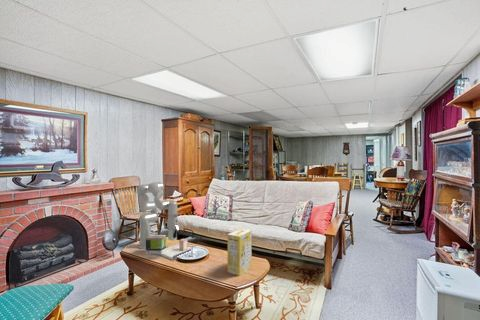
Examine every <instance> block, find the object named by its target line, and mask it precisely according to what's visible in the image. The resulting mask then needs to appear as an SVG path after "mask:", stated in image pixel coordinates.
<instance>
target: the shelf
mask: <svg viewBox="0 0 480 320" xmlns="http://www.w3.org/2000/svg"><path fill="white" fill-rule="evenodd" d="M189 251H191V252H192V248H190V249H188V248H187V250H186V251H181V250H179V243H177V244H174V245H171V246H168V247H166V249H163V250H161V255H160V257H163V258H166V259H169V260H172V261H176V260H177V256H179V255H181V254H184V253H186V252H189ZM179 252H180V253H179ZM177 253H179V254H177Z"/></svg>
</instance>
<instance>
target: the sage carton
mask: <svg viewBox="0 0 480 320" xmlns="http://www.w3.org/2000/svg"><path fill="white" fill-rule="evenodd" d="M167 232H168V233H167V234H168V235H167V237H168V238H167V239H168V240H170V241H174V240H177V239H178V236H177V237H176V238H173V233H174V232H173V230H172V229H167Z"/></svg>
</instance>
